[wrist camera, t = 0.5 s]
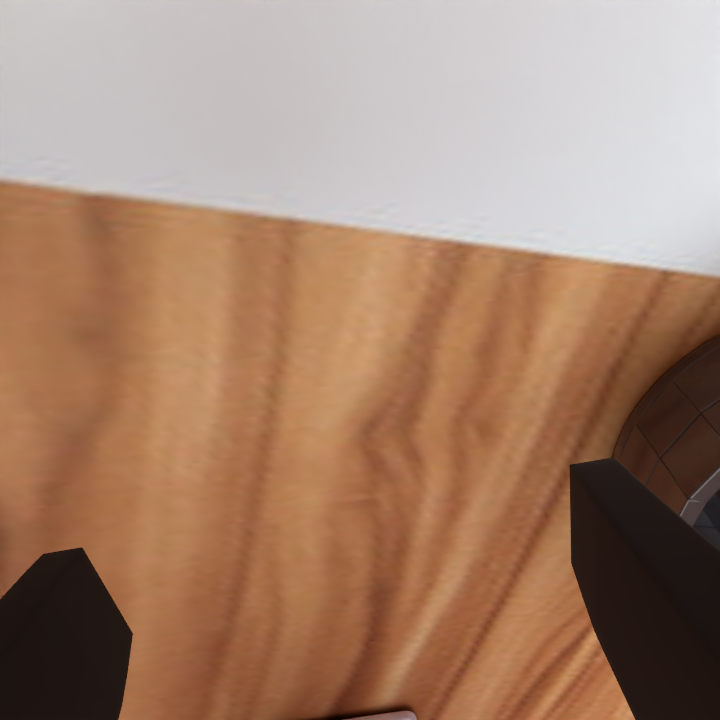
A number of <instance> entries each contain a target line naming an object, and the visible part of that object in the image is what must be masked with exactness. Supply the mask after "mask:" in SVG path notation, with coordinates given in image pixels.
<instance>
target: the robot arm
mask: <svg viewBox="0 0 720 720" xmlns="http://www.w3.org/2000/svg"><path fill="white" fill-rule="evenodd" d="M570 510H571V563H572V566H573V569H574V572H575V575H576V578H577V581H578V584H579V587H580V590H581V593H582V596H583V599H584V602H585V605H586V608H587V611H588V614H589V617H590V619H591V622H592V625H593V628H594V631H595V633H596V635H597V638H598V640H599V642H600V644H601V646H602V649H603V651H604V653H605V655H606V657H607V659H608V662H609V664H610V666H611V668H612V670H613V672H614V675H615V677H616V679H617V681H618V683H619V685H620V687H621V690H622V692H623V694H624V696H625V698H626V700H627V702H628V705H629V707H630V709H631V711H632V713H633V715H634V717H635V720H720V550H719V549H718V548H717V547H716V546H714V545H713V544H712V543H711V542H710V541H708V540H707V539H706V538H705V537H704V536H703V535H701V534H700V533H699V532H698V531H697V530H695V529H694V528H693V527H692V526H691V525H690V524H688V523H687V522H686V521H685V520H684V519H683V518H682V517H680V516H679V515H678V514H677V513H676V512H675V511H673V510H672V509H671V508H670V507H669V506H668V505H667V504H666V503H664V502H663V501H662V500H661V499H660V498H659V497H658V496H657V495H655V494H654V493H653V492H652V491H651V490H650V489H649V488H648V487H647V486H645V485H644V484H643V483H642V482H641V481H640V480H639V479H638V478H637V477H636V476H634V475H633V474H632V473H631V472H630V471H629V470H628V469H627V468H626V467H625V466H623V465H622V464H621V463H620V462H619V461H617V460H616V459H614V458H608V459H602V460H596V461H590V462H584V463H578V464H572V465H570ZM132 635H133V633H132V631H131V630H130V628H129V626H128V625H127V623H126V621H125V620H124V618H123V616H122V614H121V613H120V611H119V609H118V608H117V606H116V604H115V603H114V601H113V599H112V597H111V596H110V594H109V592H108V591H107V589H106V587H105V585H104V584H103V582H102V580H101V579H100V577H99V575H98V574H97V572H96V570H95V568H94V567H93V565H92V563H91V562H90V560H89V558H88V556H87V555H86V553H85V551H84V550H83V548H76V549H70V550H64V551H58V552H53V553H47V554H43V555H42V556H41V557H40V558H39V559H38V560H37V561H36V562H35V563H34V564H33V565H32V566H31V567H30V568H29V569H28V570H27V571H26V572H25V573H24V574H23V575H22V576H21V577H20V579H19V580H18V581H17V582H16V583H15V584H14V585H13V586H12V587H11V588H10V589H9V591H8V592H7V593H6V594H5V595H4V596H3V597H2V598H1V599H0V720H118V718H119V714H120V710H121V707H122V702H123V696H124V690H125V684H126V678H127V672H128V665H129V658H130V650H131V643H132ZM343 720H417V718H416V715H415V714H414V713H413V712H411V711H398V712H391V713H385V714H378V715H371V716H364V717H357V718H350V719H343Z"/></svg>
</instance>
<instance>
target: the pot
mask: <svg viewBox="0 0 720 720" xmlns="http://www.w3.org/2000/svg"><path fill="white" fill-rule="evenodd" d="M613 458H614V459H616V460H617V461H619V462H620V463H621V464H622V465H623V466H625V467H626V468H627V469H628V470H629V471H630V472H631V473H632V474H633V475H634V476H636V477H637V478H638V479H639V480H640V481H641V482H642V483H643V484H644V485H645V486H647V487H648V488H649V489H650V490H651V491H652V492H653V493H654V494H655V495H657V496H658V497H659V498H660V499H661V500H662V501H663V502H664V503H666V504H667V505H668V506H669V507H670V508H671V509H672V510H673V511H675V512H676V513H677V514H678V515H679V516H680V517H682V518H683V519H684V520H685V521H686V522H687V523H688V524H690V525H691V526H692V527H693V528H694V529H695V530H697V531H698V532H699V533H700V534H701V535H703V536H704V537H705V538H706V539H707V540H708V541H710V542H711V543H712V544H713V545H714V546H716V547H717V548H718V549H719V550H720V335H718V336H716V337H714V338H713V339H711V340H709V341H707V342H706V343H704V344H703V345H701V346H700V347H698V348H697V349H695V350H694V351H693V352H691V353H690V354H688V355H687V356H685V357H684V358H683V359H682V360H680V361H679V362H678V363H677V364H676V365H674V366H673V367H672V368H671V369H670V370H668V371H667V372H666V373H665V374H664V375H663V376H662V377H661V378H660V379H659V380H658V381H657V382H656V383H655V384H654V385H653V386H652V387H651V388H650V390H649V391H648V392H647V393H646V395H645V396H644V397H643V398H642V400H641V401H640V402H639V403H638V405H637V406H636V407H635V409H634V411H633V412H632V414H631V415H630V417H629V419H628V420H627V422H626V424H625V425H624V428H623V430H622V432H621V434H620V436H619V439H618V441H617V444H616V447H615V451H614V454H613Z"/></svg>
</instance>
